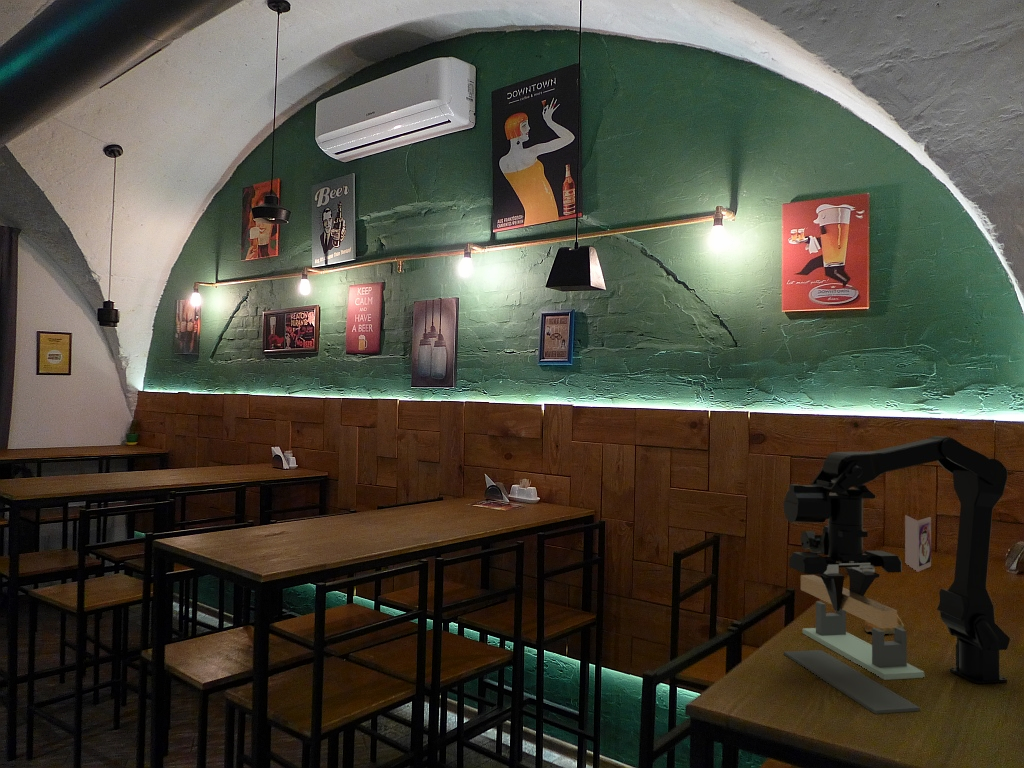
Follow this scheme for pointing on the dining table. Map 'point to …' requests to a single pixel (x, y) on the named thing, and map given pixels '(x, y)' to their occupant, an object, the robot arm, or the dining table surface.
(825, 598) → the copper rail
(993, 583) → the dining table surface
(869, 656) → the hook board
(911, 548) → the greeting card
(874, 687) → the rubber mat
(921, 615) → the dining table surface
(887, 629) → the pastry
